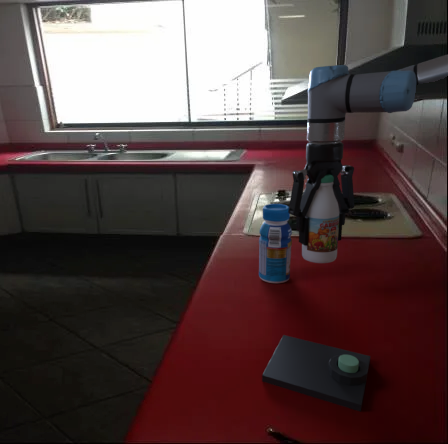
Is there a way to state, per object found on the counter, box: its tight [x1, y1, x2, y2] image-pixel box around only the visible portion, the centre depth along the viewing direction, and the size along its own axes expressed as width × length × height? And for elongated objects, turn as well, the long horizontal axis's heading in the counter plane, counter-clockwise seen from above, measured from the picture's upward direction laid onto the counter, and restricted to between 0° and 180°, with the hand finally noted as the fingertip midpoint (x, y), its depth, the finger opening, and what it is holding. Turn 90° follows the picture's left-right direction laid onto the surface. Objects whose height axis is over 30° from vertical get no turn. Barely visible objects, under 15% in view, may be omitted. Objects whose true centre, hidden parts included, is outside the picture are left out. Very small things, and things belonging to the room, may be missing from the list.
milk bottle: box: [301, 174, 339, 264], centre depth 95 cm, size 8×8×20 cm
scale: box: [261, 334, 372, 412], centre depth 75 cm, size 16×14×3 cm
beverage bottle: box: [258, 203, 293, 284], centre depth 110 cm, size 8×8×20 cm
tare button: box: [338, 355, 359, 373], centre depth 72 cm, size 3×3×2 cm
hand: (319, 240), depth 97 cm, fingers closed on milk bottle, 8 cm apart
